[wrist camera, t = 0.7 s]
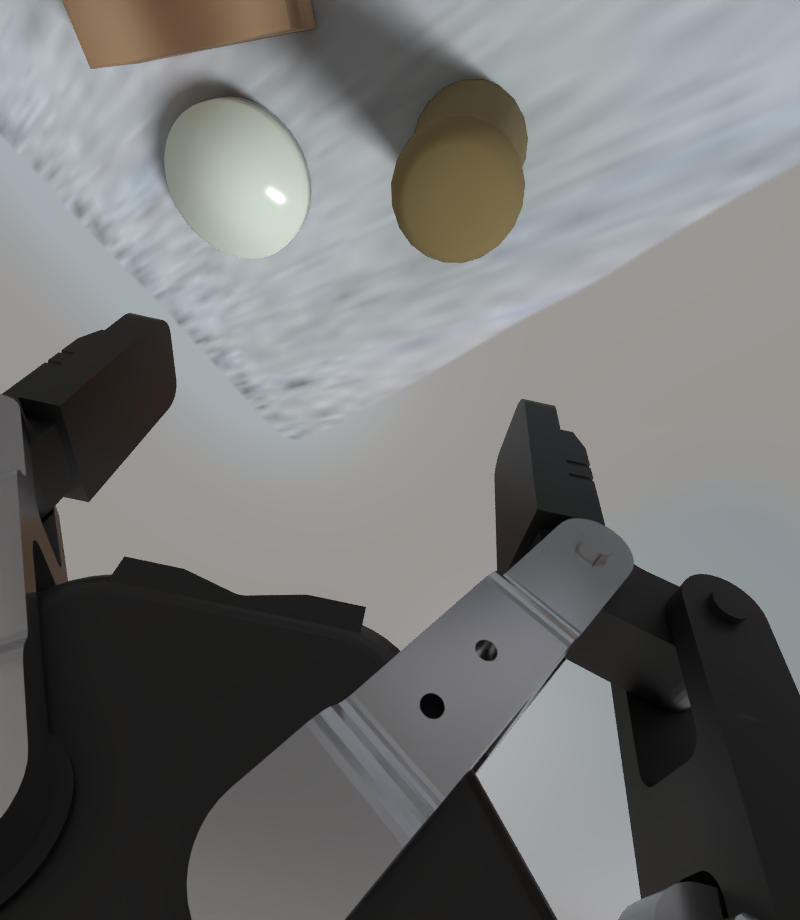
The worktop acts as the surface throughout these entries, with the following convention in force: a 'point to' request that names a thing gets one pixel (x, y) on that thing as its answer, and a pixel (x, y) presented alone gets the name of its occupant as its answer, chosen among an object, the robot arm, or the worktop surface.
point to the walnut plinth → (178, 26)
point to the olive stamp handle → (462, 173)
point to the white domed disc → (237, 176)
